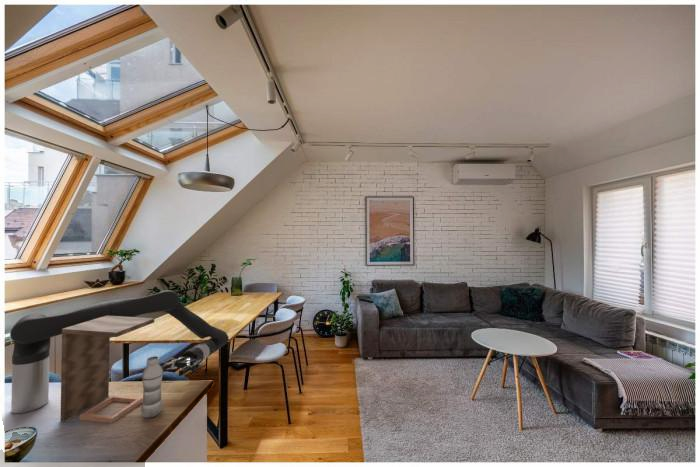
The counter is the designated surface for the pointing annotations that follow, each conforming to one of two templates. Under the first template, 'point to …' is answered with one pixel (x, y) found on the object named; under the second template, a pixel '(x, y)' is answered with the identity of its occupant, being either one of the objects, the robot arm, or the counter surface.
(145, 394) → the plastic bottle
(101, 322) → the bracket shelf
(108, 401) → the square wooden frame
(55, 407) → the counter surface
